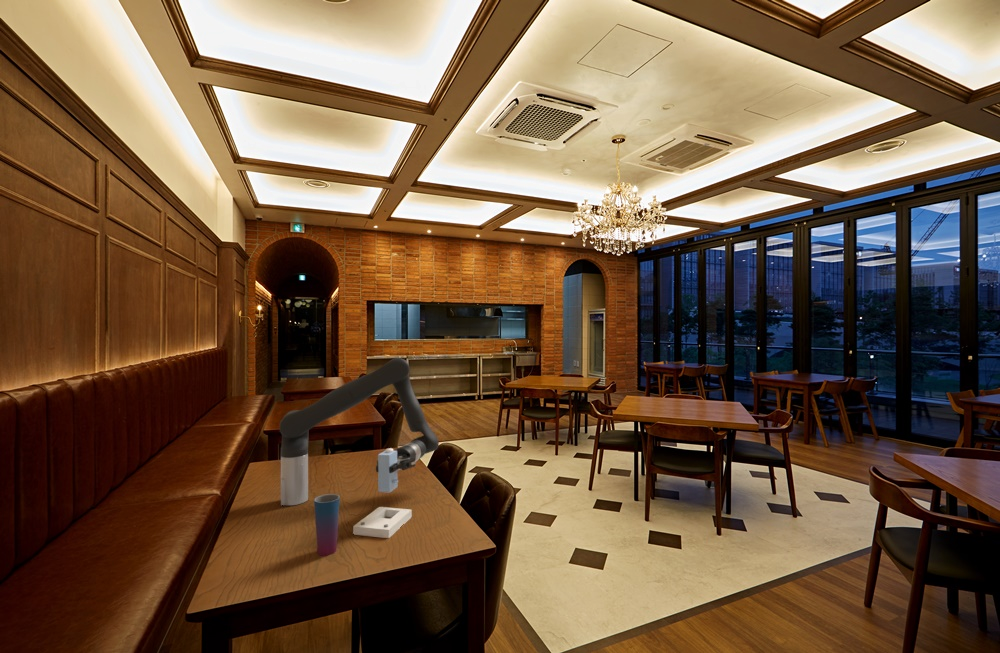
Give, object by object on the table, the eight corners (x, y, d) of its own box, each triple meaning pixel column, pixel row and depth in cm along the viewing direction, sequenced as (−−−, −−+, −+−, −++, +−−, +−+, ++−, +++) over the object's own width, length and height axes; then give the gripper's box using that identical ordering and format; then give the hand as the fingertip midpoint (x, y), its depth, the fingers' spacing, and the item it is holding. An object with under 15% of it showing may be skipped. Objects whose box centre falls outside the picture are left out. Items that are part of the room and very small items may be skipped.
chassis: (388, 538, 135) (388, 528, 135) (353, 534, 137) (353, 524, 138) (411, 517, 150) (411, 508, 150) (379, 514, 153) (379, 505, 153)
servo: (393, 492, 144) (393, 452, 144) (374, 491, 145) (374, 451, 145) (401, 487, 149) (400, 448, 149) (383, 485, 151) (382, 447, 151)
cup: (324, 559, 122) (324, 504, 123) (308, 553, 126) (308, 499, 126) (344, 549, 128) (344, 496, 128) (329, 543, 132) (329, 492, 132)
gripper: (388, 444, 163) (363, 456, 146) (425, 445, 159) (403, 459, 143) (389, 464, 163) (364, 479, 146) (425, 467, 159) (404, 482, 143)
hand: (383, 469), depth 144 cm, fingers closed on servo, 4 cm apart
